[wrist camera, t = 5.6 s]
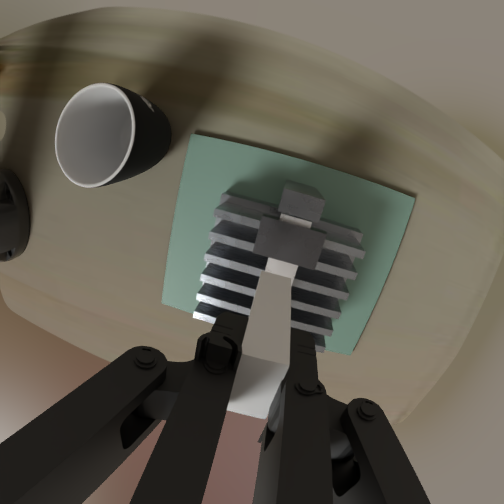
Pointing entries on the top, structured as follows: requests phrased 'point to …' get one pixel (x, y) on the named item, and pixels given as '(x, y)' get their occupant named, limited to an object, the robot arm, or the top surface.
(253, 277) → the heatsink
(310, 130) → the top surface
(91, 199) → the top surface
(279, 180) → the board
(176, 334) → the top surface
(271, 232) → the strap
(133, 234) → the top surface
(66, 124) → the mug
